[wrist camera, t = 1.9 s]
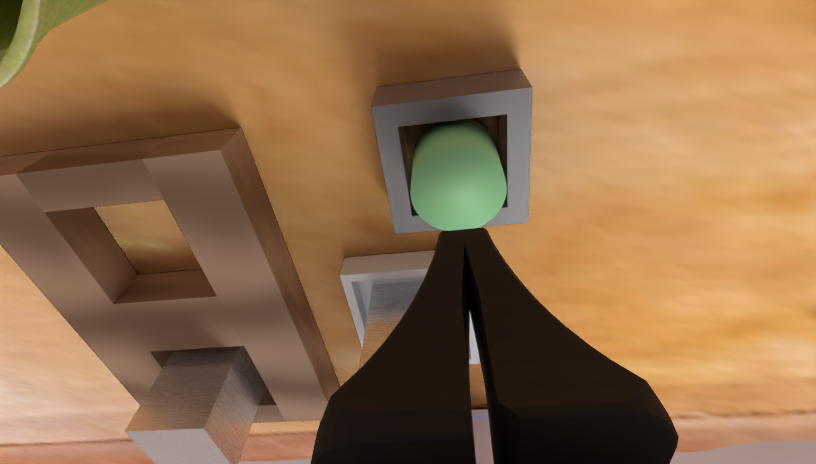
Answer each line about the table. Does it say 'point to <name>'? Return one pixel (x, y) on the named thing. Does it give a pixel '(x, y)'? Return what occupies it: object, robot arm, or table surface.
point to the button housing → (449, 103)
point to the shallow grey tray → (383, 270)
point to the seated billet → (199, 407)
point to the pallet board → (170, 291)
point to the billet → (385, 313)
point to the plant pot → (31, 28)
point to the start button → (457, 176)
